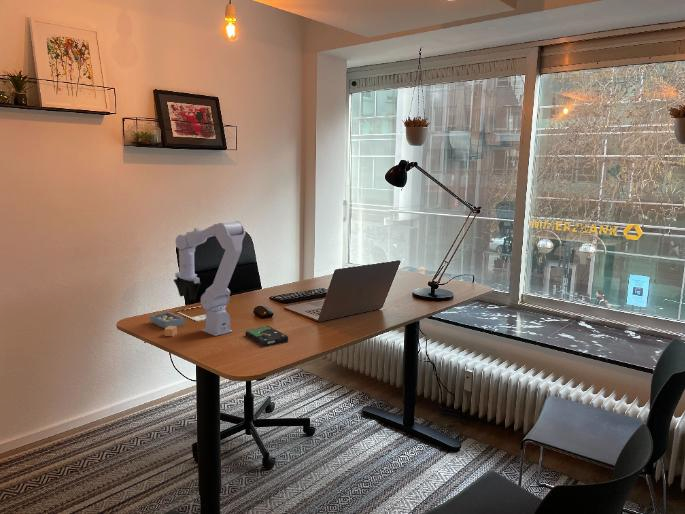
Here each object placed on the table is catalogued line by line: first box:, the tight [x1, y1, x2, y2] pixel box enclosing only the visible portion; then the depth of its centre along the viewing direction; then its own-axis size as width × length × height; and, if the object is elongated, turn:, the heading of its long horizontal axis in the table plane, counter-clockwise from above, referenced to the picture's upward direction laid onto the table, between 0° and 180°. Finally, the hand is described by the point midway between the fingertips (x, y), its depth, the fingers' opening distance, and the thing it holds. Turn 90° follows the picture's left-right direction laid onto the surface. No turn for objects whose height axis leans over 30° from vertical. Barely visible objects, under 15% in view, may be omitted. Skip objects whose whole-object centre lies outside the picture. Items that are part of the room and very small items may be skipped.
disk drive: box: [245, 325, 289, 348], centre depth 199 cm, size 10×3×15 cm
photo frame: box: [178, 305, 206, 322], centre depth 229 cm, size 15×1×18 cm
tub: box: [149, 311, 185, 329], centre depth 213 cm, size 12×8×3 cm, turn 48°
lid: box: [163, 326, 178, 337], centre depth 200 cm, size 12×8×4 cm
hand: (187, 297), depth 214 cm, fingers open, 7 cm apart
